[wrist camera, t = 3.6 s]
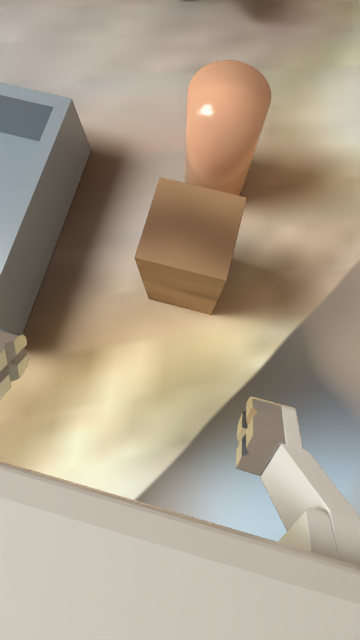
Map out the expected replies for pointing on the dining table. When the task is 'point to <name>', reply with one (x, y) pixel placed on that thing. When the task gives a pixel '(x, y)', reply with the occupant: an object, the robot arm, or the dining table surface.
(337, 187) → the dining table surface
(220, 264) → the walnut block
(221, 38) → the dining table surface
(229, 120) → the ball
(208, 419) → the dining table surface
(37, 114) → the box
